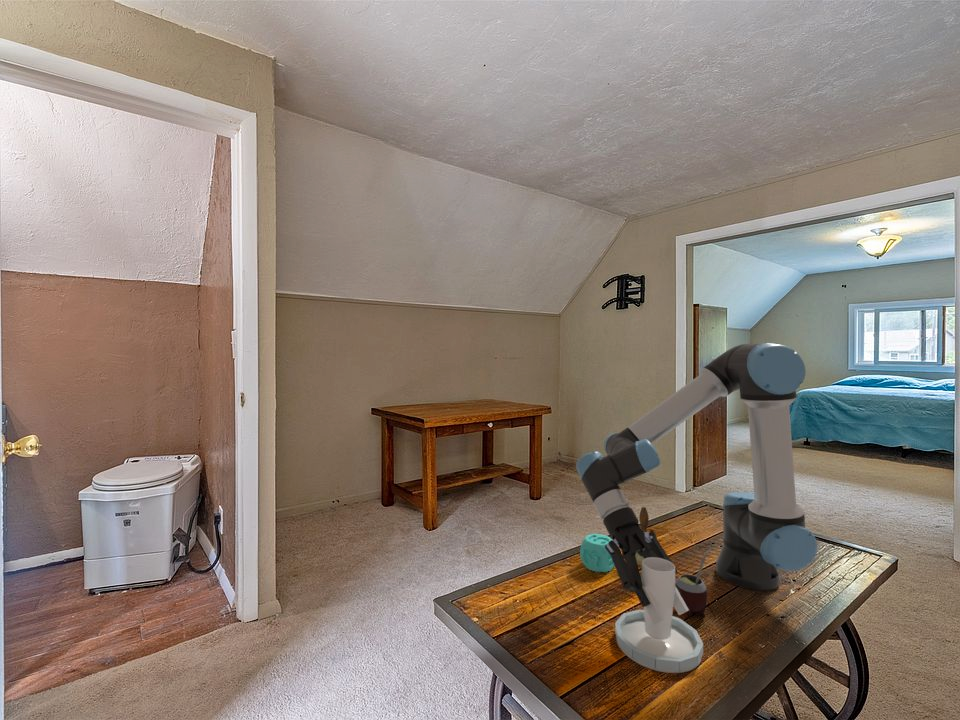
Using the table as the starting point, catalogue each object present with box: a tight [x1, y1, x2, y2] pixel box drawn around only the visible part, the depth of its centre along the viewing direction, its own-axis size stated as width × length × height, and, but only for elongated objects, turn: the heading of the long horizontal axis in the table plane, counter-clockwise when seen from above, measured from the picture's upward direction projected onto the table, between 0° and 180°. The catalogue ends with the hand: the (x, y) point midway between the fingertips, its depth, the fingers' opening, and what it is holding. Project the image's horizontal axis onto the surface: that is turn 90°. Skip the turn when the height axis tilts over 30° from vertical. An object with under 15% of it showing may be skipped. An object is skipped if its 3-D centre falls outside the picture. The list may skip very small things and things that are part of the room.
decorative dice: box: [579, 533, 615, 573], centre depth 132 cm, size 8×8×8 cm
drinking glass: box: [641, 557, 677, 640], centre depth 96 cm, size 7×7×15 cm
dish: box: [614, 609, 704, 674], centre depth 97 cm, size 17×17×2 cm
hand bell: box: [635, 506, 649, 567], centre depth 135 cm, size 8×8×16 cm
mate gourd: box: [676, 547, 713, 620], centre depth 109 cm, size 8×8×15 cm
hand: (671, 617), depth 93 cm, fingers closed on drinking glass, 6 cm apart
